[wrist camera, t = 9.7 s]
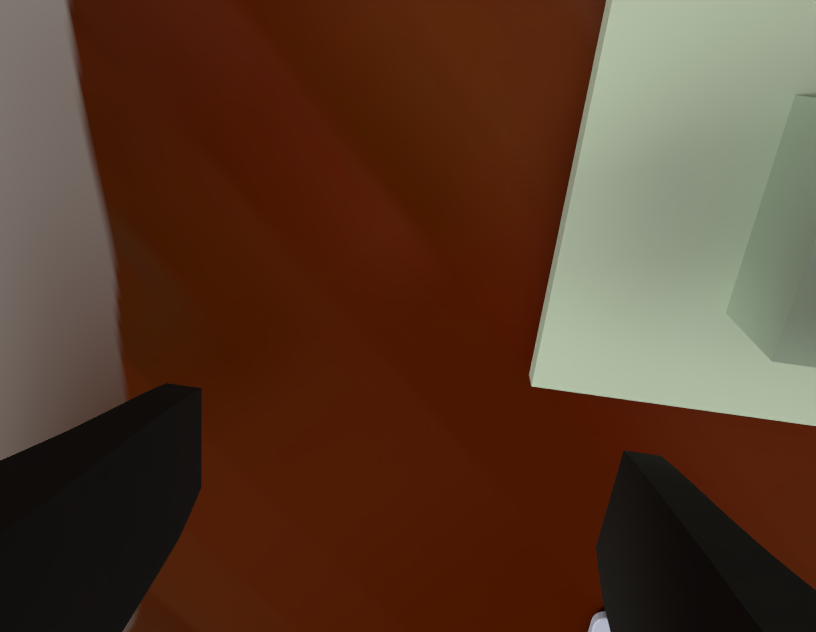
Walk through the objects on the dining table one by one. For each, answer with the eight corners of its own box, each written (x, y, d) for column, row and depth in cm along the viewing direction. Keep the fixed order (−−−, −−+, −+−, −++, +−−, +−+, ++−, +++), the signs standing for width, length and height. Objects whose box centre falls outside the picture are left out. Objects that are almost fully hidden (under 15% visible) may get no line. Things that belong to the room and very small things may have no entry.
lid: (905, 413, 22) (1021, 511, 17) (526, 360, 22) (541, 443, 18) (1096, -5, 17) (1326, -21, 13) (612, -62, 18) (664, -98, 13)
